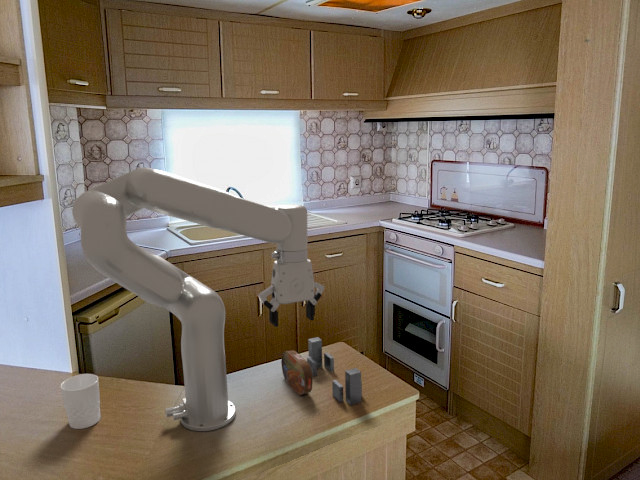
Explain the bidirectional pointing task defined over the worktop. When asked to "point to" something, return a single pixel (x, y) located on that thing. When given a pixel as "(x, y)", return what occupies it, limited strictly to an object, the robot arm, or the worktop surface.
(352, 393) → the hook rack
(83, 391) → the white cup
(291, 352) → the tin
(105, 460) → the worktop surface
